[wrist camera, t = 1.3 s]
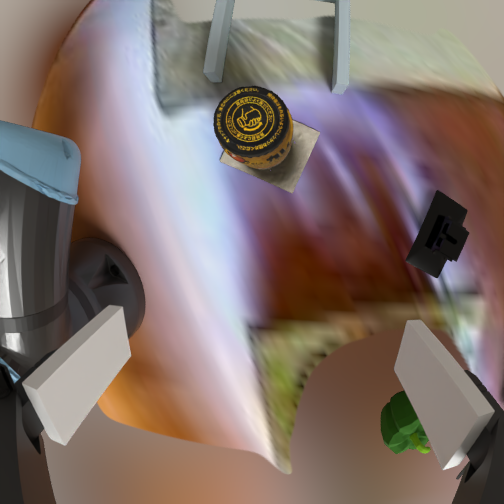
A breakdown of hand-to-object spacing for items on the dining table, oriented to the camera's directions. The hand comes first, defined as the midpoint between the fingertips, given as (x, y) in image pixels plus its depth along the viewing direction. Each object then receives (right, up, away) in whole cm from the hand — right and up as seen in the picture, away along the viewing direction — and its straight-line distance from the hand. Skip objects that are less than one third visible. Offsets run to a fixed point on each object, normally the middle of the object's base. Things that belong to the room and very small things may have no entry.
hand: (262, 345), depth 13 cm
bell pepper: (+22, -19, +24) cm, 37 cm away
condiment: (+1, +15, +18) cm, 24 cm away
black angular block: (+22, +6, +18) cm, 29 cm away
